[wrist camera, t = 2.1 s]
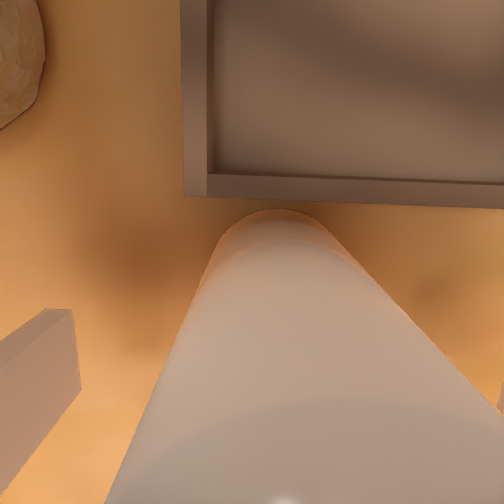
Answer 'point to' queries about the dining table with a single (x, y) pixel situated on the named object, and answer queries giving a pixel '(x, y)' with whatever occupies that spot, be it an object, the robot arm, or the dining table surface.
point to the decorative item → (19, 57)
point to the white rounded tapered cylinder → (306, 389)
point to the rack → (344, 101)
